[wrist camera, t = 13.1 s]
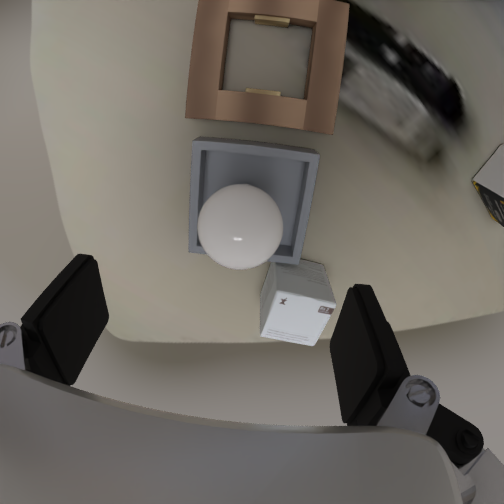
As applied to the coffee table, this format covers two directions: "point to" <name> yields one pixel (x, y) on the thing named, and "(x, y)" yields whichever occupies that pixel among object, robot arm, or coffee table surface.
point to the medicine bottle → (492, 185)
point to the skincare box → (295, 302)
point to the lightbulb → (240, 226)
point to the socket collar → (265, 101)
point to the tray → (256, 184)
